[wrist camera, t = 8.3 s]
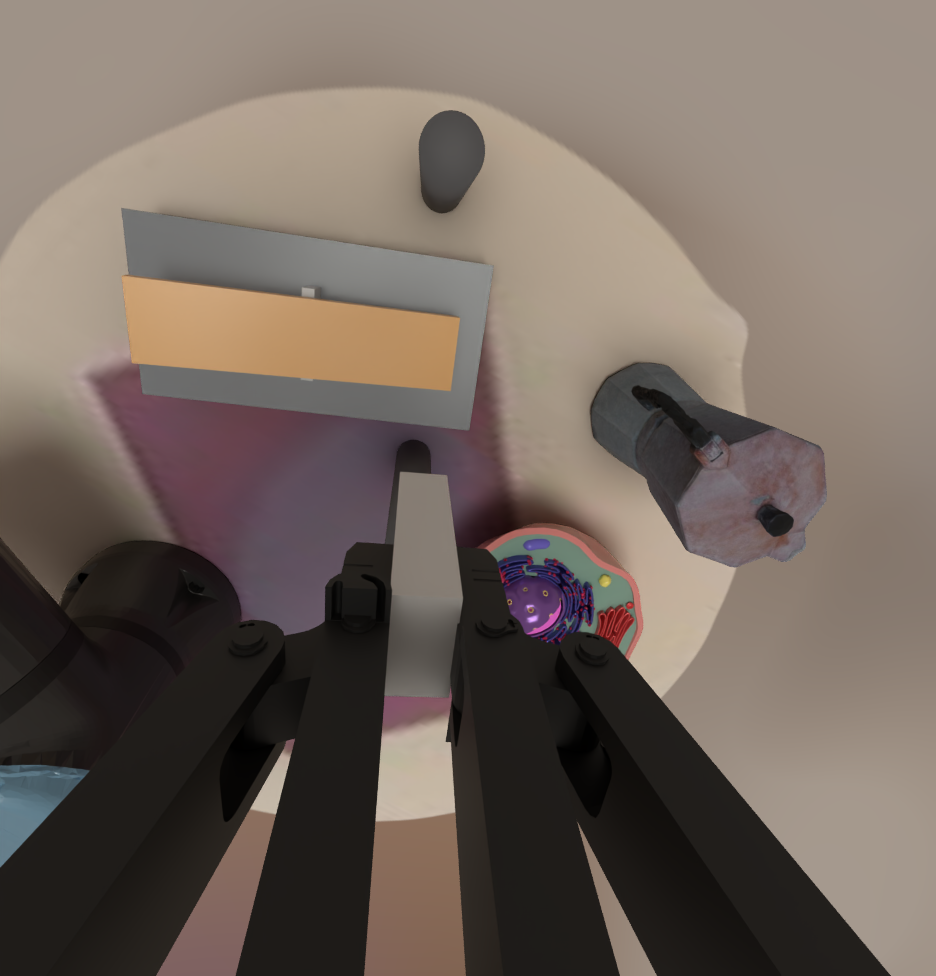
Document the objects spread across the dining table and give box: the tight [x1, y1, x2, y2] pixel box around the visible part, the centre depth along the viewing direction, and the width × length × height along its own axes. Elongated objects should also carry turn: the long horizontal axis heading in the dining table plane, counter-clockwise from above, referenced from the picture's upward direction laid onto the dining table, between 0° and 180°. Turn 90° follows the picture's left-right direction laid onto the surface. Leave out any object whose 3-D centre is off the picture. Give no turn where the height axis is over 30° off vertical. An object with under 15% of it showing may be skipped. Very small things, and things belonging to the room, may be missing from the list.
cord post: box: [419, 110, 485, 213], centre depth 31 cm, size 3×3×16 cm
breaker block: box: [121, 208, 494, 430], centre depth 38 cm, size 24×12×7 cm, turn 82°
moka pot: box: [591, 363, 827, 567], centre depth 37 cm, size 10×15×20 cm, turn 49°
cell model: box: [476, 523, 643, 660], centre depth 48 cm, size 17×20×11 cm
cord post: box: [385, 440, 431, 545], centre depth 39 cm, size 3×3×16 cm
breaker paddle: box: [122, 275, 460, 391], centre depth 34 cm, size 20×5×1 cm, turn 82°
